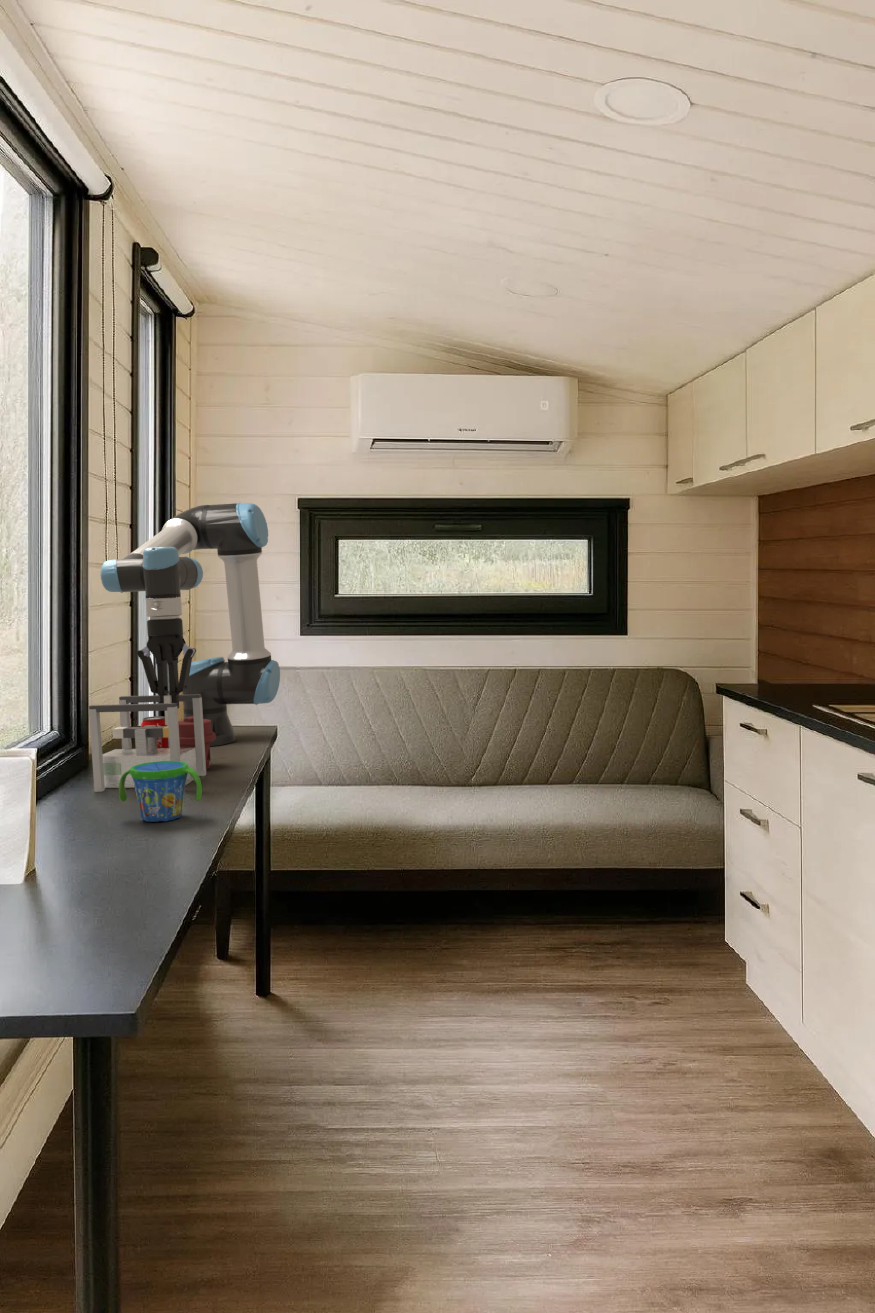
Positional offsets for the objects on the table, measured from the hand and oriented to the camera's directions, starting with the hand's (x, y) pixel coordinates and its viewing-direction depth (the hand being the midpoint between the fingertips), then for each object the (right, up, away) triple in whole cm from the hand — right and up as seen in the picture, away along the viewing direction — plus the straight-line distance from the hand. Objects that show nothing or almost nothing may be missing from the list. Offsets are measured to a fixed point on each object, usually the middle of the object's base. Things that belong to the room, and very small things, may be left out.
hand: (171, 724), depth 219 cm
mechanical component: (+1, -12, +17) cm, 21 cm away
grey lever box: (-5, -13, +2) cm, 15 cm away
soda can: (-9, -12, +21) cm, 26 cm away
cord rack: (-5, -13, +2) cm, 15 cm away
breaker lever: (-6, -3, +1) cm, 7 cm away
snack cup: (+7, -16, -32) cm, 36 cm away
